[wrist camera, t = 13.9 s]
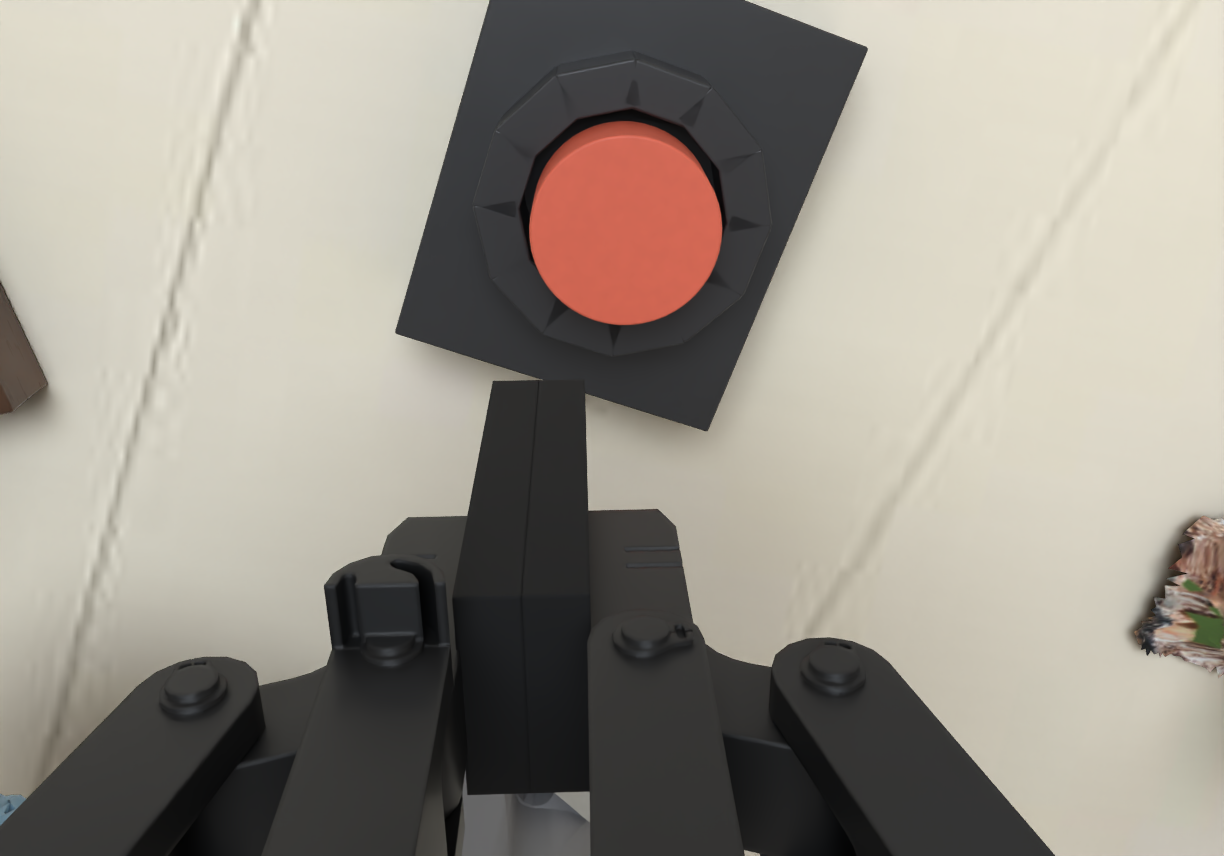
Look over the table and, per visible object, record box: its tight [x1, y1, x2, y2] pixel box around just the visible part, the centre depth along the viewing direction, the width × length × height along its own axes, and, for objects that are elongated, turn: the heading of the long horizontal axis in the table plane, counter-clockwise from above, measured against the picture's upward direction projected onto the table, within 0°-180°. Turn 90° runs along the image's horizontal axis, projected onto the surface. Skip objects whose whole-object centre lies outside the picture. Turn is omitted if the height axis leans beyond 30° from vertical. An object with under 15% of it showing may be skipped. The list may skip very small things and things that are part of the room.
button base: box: [395, 0, 868, 431], centre depth 32 cm, size 12×10×6 cm
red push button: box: [529, 121, 722, 325], centre depth 28 cm, size 5×5×2 cm
